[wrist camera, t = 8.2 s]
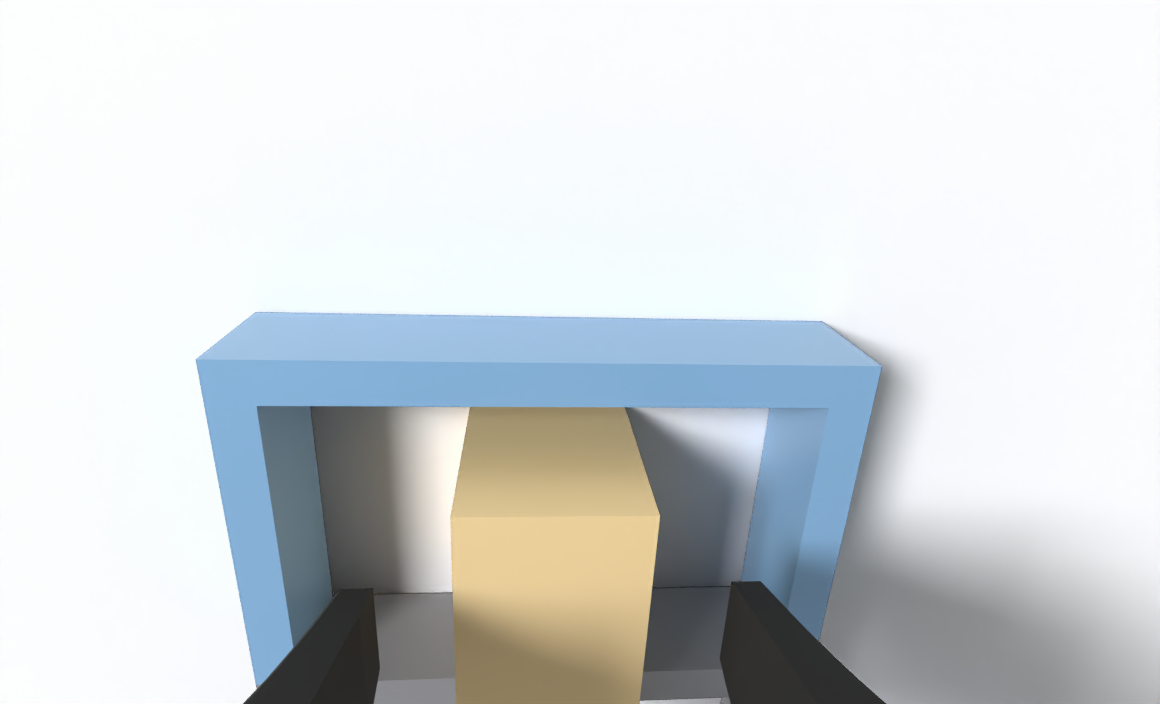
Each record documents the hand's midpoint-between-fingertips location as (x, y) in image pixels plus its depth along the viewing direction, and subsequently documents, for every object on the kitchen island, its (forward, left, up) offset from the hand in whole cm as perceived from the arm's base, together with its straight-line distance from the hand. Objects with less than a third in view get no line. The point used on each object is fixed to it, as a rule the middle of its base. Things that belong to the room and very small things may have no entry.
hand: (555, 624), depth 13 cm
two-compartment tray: (0, +4, -5) cm, 7 cm away
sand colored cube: (0, 0, -5) cm, 5 cm away
